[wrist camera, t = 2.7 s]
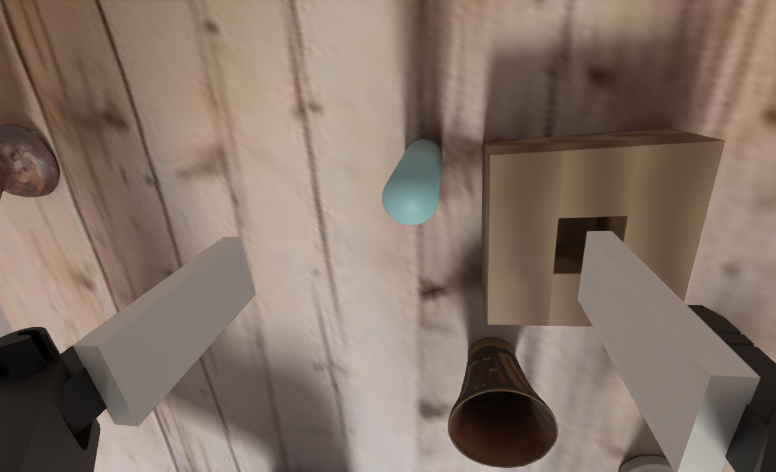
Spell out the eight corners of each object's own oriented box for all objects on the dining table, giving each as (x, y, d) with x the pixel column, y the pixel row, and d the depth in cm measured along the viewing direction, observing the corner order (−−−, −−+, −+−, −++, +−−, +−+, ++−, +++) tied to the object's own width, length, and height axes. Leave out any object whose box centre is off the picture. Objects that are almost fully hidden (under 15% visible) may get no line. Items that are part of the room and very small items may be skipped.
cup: (449, 400, 41) (452, 479, 32) (441, 328, 39) (443, 391, 29) (530, 398, 40) (560, 481, 30) (527, 324, 38) (559, 388, 28)
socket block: (481, 287, 36) (487, 324, 30) (482, 141, 30) (490, 155, 25) (639, 286, 33) (677, 327, 28) (671, 128, 28) (724, 140, 22)
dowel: (406, 176, 32) (385, 226, 22) (403, 140, 31) (379, 172, 20) (442, 174, 32) (439, 224, 21) (441, 137, 31) (437, 169, 20)
